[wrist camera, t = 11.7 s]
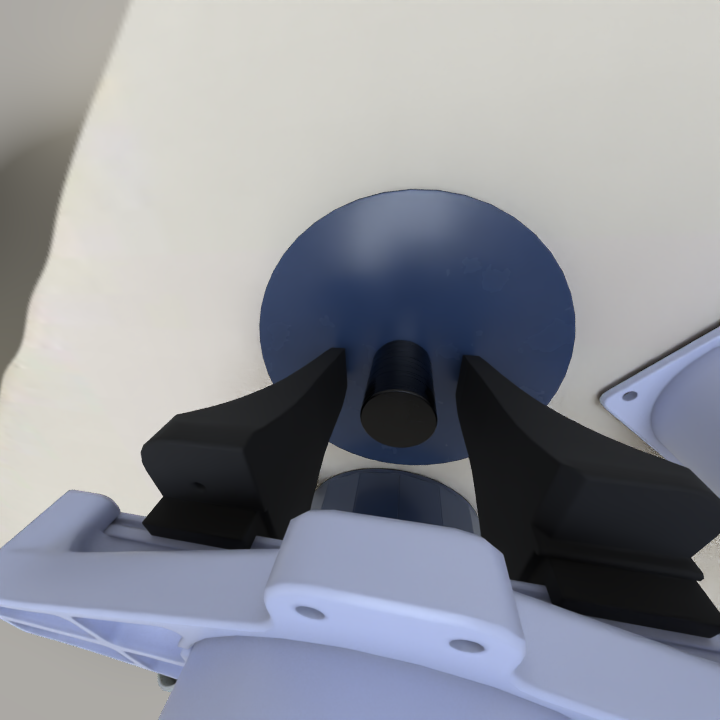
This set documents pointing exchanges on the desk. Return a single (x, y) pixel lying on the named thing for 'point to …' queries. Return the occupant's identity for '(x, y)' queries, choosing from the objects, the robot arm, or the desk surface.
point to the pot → (396, 498)
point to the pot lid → (417, 315)
